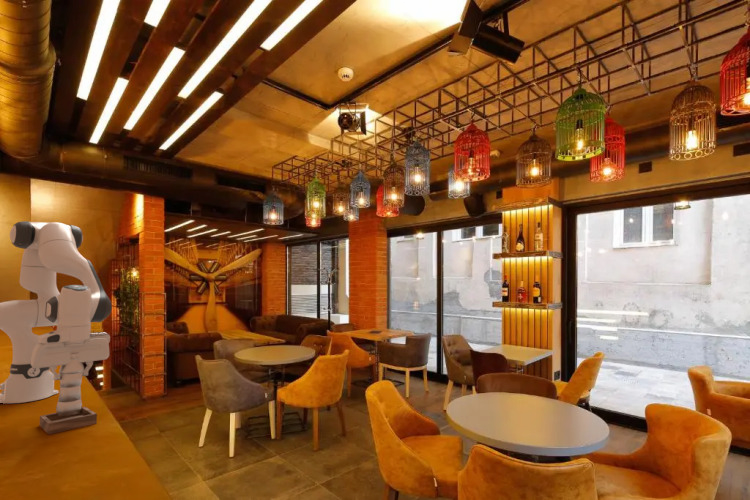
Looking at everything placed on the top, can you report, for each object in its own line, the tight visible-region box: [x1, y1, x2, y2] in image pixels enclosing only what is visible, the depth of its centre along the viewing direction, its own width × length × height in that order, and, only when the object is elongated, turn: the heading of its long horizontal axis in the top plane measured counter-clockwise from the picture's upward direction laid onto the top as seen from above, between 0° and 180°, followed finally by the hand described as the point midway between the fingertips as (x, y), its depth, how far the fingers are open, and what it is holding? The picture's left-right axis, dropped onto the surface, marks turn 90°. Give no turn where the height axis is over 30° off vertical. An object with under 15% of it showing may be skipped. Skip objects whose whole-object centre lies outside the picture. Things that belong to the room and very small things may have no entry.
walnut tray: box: [39, 406, 98, 435], centre depth 125 cm, size 12×12×3 cm
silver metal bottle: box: [55, 353, 85, 416], centre depth 126 cm, size 6×7×20 cm
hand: (71, 377), depth 126 cm, fingers closed on silver metal bottle, 6 cm apart
